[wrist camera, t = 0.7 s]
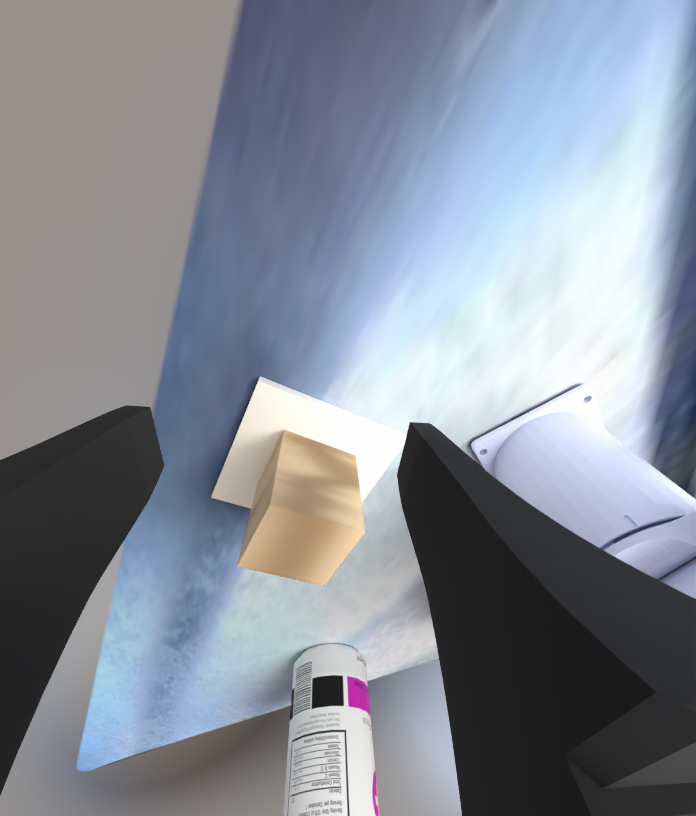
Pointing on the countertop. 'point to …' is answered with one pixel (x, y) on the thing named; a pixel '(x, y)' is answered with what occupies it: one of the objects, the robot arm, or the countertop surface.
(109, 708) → the countertop surface
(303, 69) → the countertop surface
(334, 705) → the supplement can
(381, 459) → the tile
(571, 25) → the countertop surface
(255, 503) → the oak cube
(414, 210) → the countertop surface
